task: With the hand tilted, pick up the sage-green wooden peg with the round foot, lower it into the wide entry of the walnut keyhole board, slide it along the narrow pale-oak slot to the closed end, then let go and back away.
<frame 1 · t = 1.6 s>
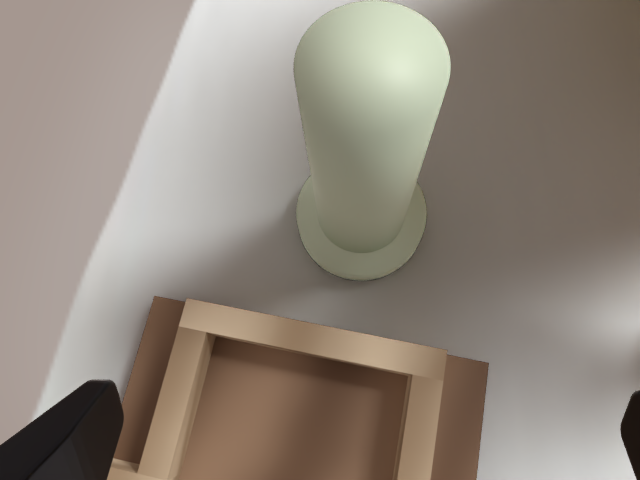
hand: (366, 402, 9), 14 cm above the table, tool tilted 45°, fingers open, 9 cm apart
sage peg: (360, 219, 24), on the table
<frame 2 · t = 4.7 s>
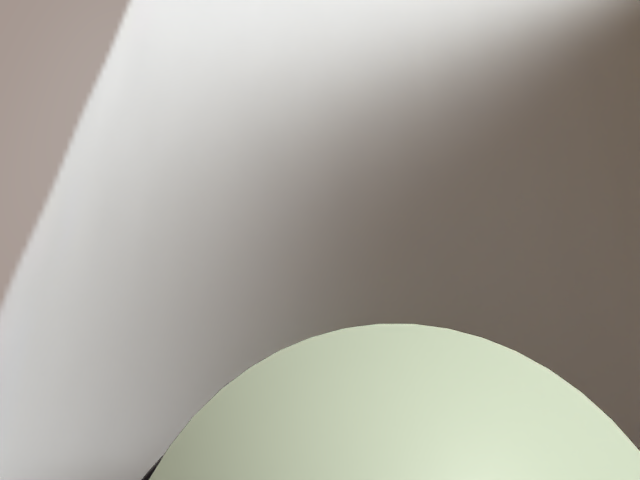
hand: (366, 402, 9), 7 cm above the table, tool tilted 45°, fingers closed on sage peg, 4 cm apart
sage peg: (356, 446, 15), on the table, touching gripper
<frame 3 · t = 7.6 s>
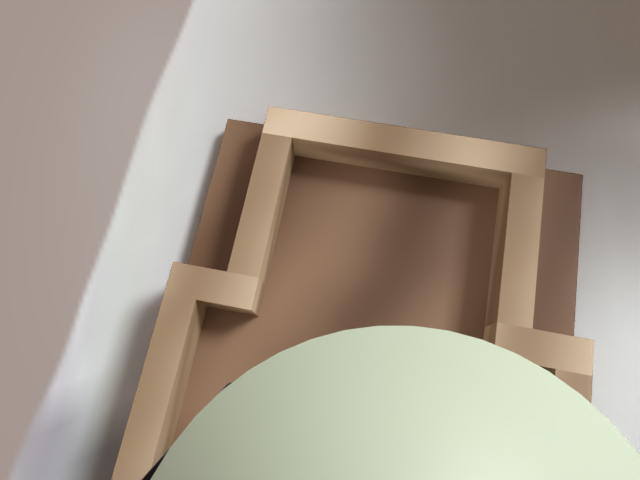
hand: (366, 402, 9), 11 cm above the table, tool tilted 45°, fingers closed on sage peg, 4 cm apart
keyhole board: (362, 360, 20), on the table
sage peg: (356, 448, 15), point 4 cm above the table, touching gripper
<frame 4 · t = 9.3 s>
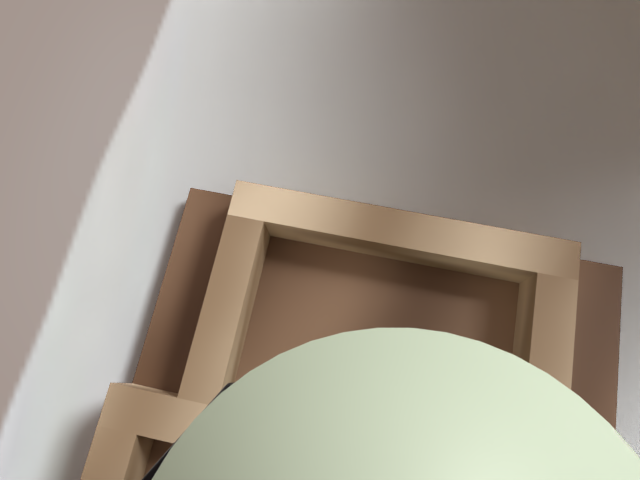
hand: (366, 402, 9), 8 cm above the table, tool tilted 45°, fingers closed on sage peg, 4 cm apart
sage peg: (356, 448, 15), point 2 cm above the table, touching gripper
when the fingers open (8 cm above the table, at t = 10.5 s): sage peg stays where it is, resting on keyhole board.
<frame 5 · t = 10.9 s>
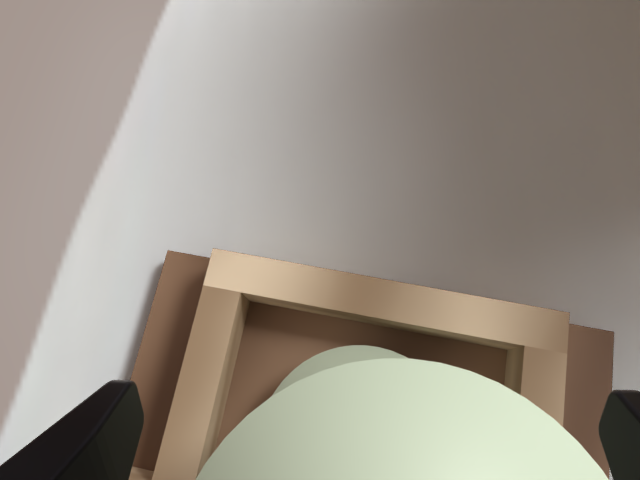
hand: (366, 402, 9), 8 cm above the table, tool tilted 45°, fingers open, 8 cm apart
sage peg: (359, 447, 15), point 1 cm above the table, touching keyhole board
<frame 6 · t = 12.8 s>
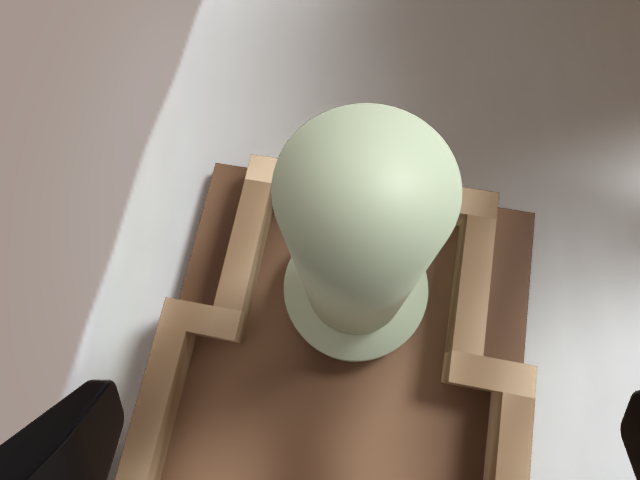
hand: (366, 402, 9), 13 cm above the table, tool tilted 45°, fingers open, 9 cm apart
keyhole board: (336, 382, 22), on the table
sage peg: (354, 291, 22), point 1 cm above the table, touching keyhole board
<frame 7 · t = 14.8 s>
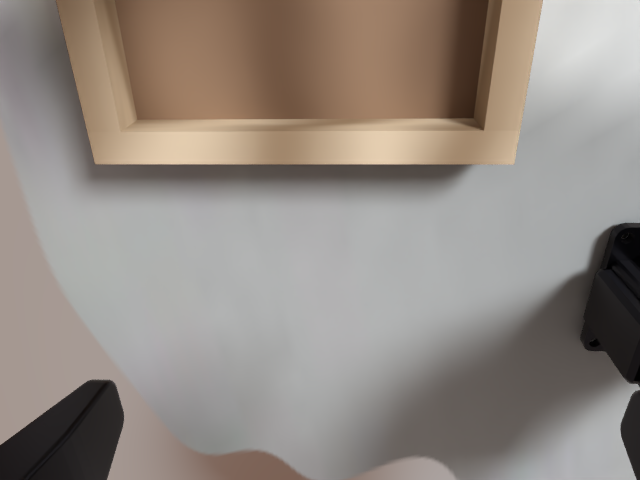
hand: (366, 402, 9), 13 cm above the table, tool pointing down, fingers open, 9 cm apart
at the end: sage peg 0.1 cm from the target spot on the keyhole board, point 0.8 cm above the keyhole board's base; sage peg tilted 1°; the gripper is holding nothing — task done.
